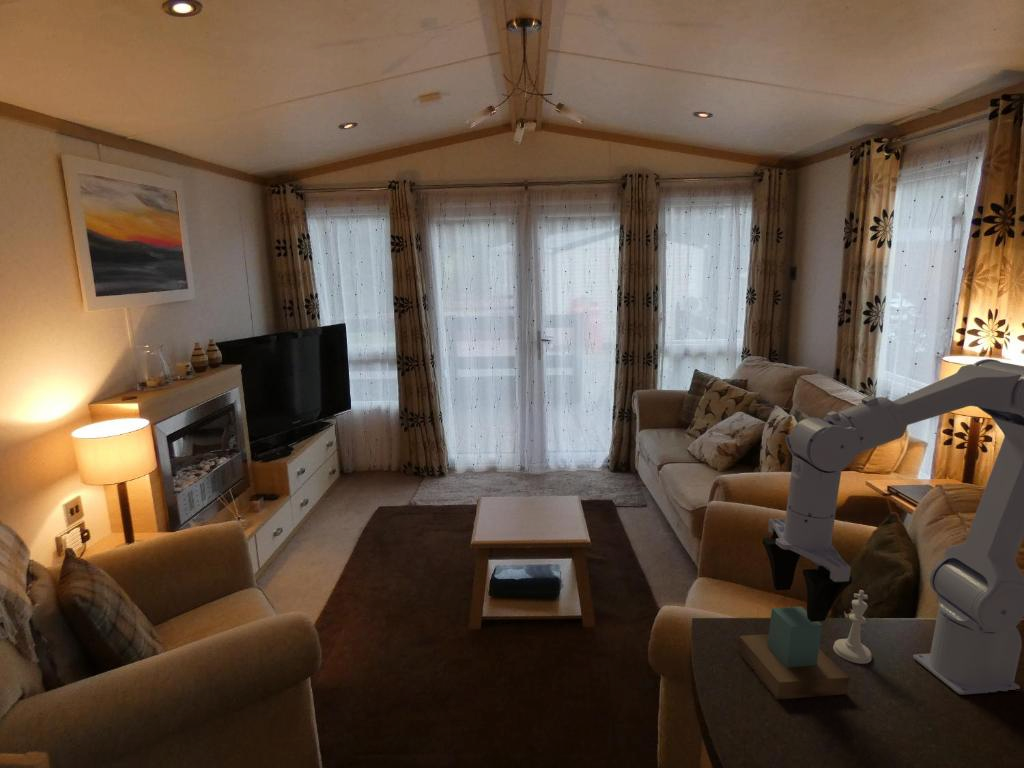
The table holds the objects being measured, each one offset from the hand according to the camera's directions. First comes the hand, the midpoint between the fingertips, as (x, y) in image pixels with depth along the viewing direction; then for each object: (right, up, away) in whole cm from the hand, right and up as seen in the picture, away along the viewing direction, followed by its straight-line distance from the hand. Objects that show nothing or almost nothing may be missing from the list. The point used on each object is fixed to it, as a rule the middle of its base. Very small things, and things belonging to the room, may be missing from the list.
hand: (798, 603), depth 80 cm
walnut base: (0, -10, +2) cm, 10 cm away
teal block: (0, -8, +1) cm, 8 cm away
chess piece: (+11, -10, +7) cm, 16 cm away
